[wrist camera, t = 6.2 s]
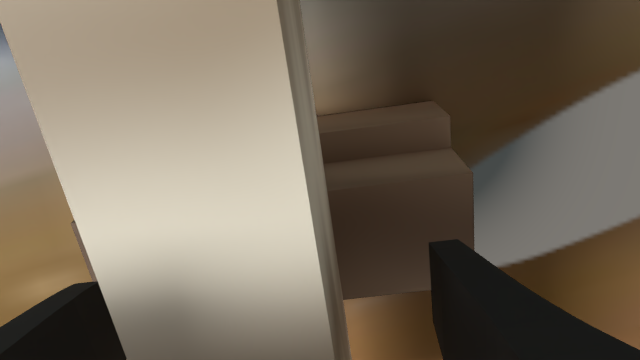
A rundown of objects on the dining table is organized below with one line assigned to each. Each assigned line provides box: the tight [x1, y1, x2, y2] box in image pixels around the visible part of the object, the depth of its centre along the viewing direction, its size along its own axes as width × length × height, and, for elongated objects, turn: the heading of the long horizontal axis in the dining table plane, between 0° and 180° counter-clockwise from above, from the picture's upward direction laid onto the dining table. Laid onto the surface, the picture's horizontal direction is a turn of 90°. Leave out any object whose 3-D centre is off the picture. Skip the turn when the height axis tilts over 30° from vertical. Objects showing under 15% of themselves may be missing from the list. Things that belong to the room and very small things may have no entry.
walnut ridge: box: [71, 101, 474, 300], centre depth 14 cm, size 5×10×4 cm, turn 98°
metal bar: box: [0, 0, 352, 360], centre depth 9 cm, size 16×3×5 cm, turn 8°
